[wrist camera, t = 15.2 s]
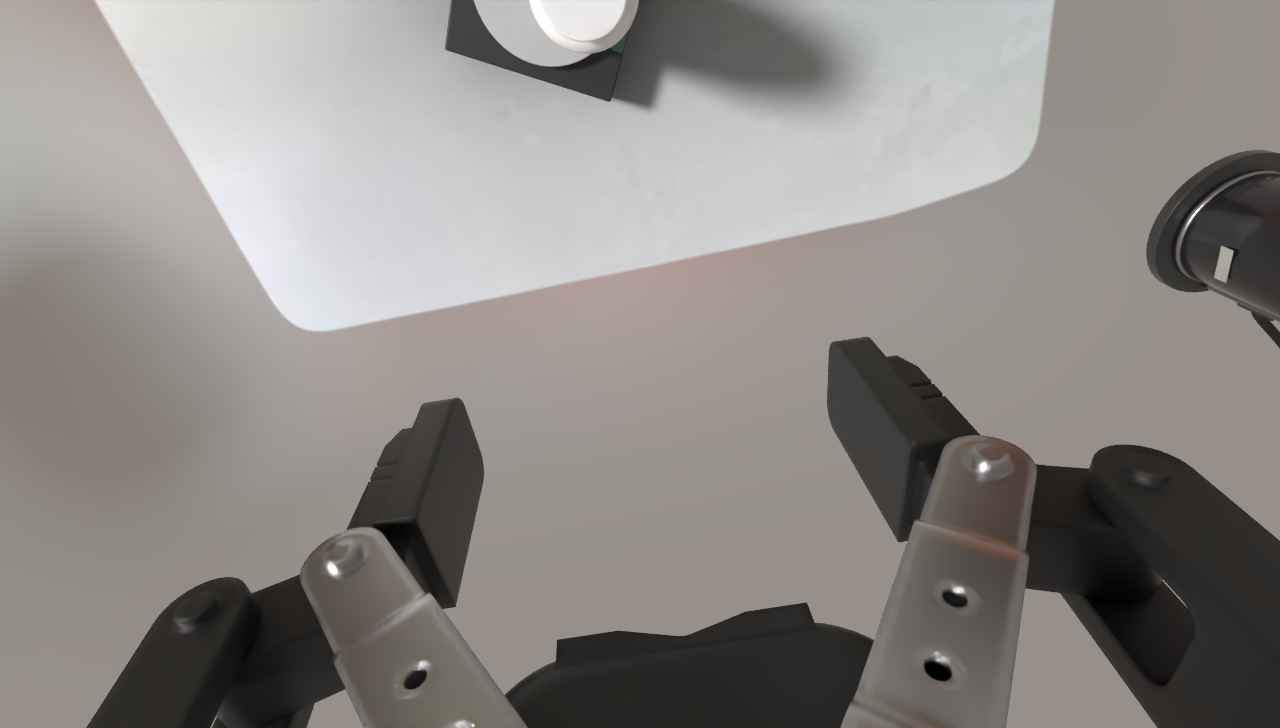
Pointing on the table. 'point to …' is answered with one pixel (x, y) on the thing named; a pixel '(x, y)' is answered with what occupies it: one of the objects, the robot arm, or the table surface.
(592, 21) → the pill bottle
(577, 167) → the table surface
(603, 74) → the scale
